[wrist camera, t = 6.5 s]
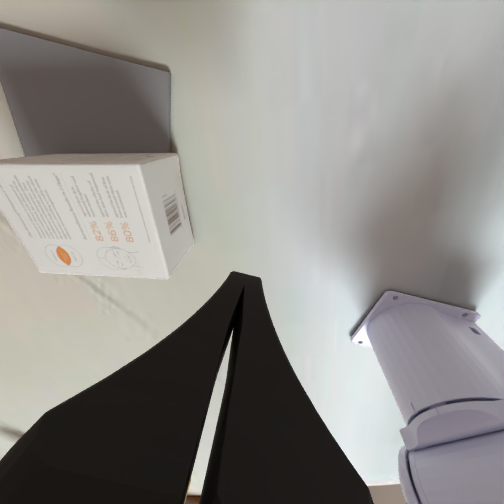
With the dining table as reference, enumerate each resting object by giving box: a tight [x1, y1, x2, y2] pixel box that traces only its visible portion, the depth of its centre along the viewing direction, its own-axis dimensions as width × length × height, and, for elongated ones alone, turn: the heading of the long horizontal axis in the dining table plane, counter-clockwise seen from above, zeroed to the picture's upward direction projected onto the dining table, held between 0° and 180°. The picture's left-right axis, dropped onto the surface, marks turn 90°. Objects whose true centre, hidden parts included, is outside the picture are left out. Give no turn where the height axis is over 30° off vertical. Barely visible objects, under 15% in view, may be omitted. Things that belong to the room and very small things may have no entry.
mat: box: [0, 28, 171, 157], centre depth 17 cm, size 12×16×1 cm
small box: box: [0, 153, 194, 279], centre depth 16 cm, size 8×6×10 cm
